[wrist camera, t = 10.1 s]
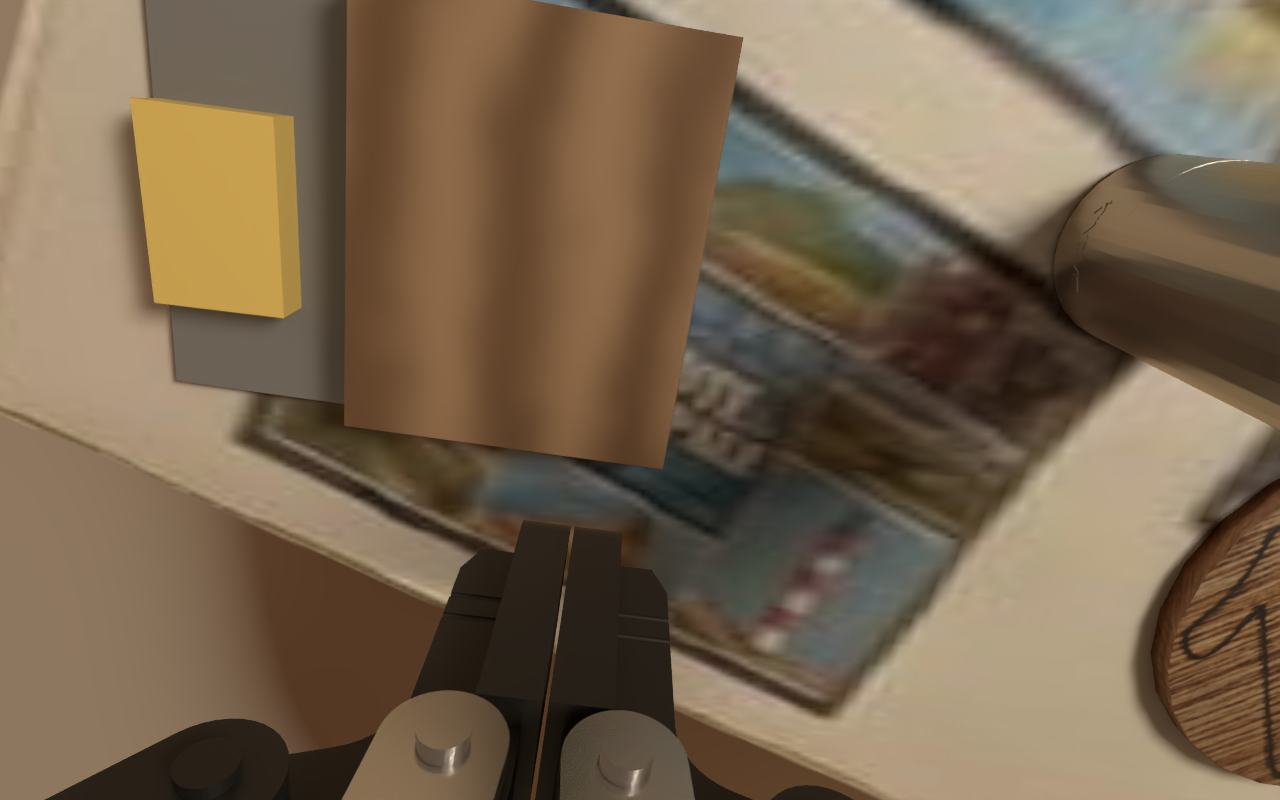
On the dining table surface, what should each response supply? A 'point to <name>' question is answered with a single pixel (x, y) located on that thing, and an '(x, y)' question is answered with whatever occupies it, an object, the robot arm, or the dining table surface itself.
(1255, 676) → the trivet
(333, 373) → the mat
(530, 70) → the deck
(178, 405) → the dining table surface
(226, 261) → the tile
